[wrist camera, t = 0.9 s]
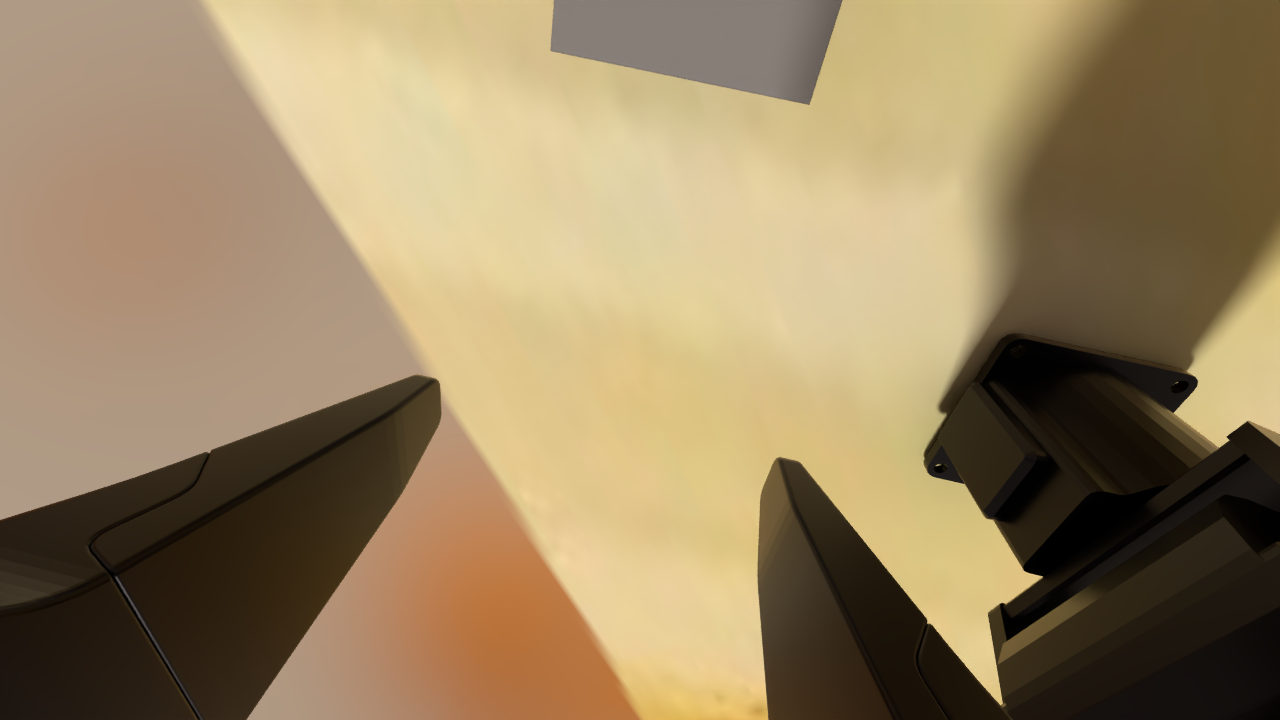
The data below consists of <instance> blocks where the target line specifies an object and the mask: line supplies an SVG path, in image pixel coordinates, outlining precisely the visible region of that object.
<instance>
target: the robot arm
mask: <svg viewBox="0 0 1280 720" xmlns="http://www.w3.org/2000/svg"><path fill="white" fill-rule="evenodd" d="M1018 345H1021V346H1020V348H1019V349H1018V350H1017V351H1015V352H1010V351H1011V349H1012V348H1013V347H1015V346H1018ZM1176 382H1178V383H1176ZM1174 383H1176V384H1175V385H1173V384H1174ZM1197 384H1198V380H1197V379H1196V377H1194V376H1193V375H1191V374H1190V373H1188V372H1187V371H1185V370H1183V369H1180V368H1175V367H1171V366H1166V365H1162V364H1157V363H1152V362H1148V361H1143V360H1139V359H1134V358H1130V357H1125V356H1120V355H1116V354H1111V353H1107V352H1102V351H1097V350H1093V349H1088V348H1084V347H1079V346H1075V345H1070V344H1065V343H1061V342H1056V341H1052V340H1047V339H1042V338H1038V337H1033V336H1029V335H1024V334H1015V333H1014V334H1011V335H1007V336H1006V337H1004V338H1002V339H1001V341H1000V342H999V343H998V344H997V346H996V347H995V349H994V351H993V352H992V354H991V355H990V357H989V358H988V360H987V362H986V363H985V365H984V366H983V368H982V369H981V371H980V373H979V374H978V376H977V377H976V379H975V380H974V382H973V384H972V385H970V386H969V387H968V388H967V390H966V392H965V393H964V395H963V396H962V398H961V399H960V401H959V403H958V404H957V406H956V407H955V409H954V411H953V412H952V414H951V415H950V417H949V418H948V420H947V422H946V423H945V425H944V426H943V428H942V429H941V431H940V433H939V434H938V439H937V440H936V442H935V443H934V445H933V447H932V448H931V450H930V451H929V453H928V454H927V456H926V458H925V460H924V466H925V468H926V470H927V472H928V473H929V474H930V475H931V476H933V477H936V478H941V479H945V480H949V481H954V482H958V483H963V484H965V485H966V487H967V488H968V490H969V492H970V494H971V495H972V497H973V499H974V500H975V502H976V504H977V505H978V507H979V509H980V510H981V512H982V514H983V515H984V517H985V518H986V519H991V520H994V522H995V524H996V525H997V527H998V529H999V530H1000V532H1001V534H1002V535H1003V537H1004V538H1005V540H1006V542H1007V543H1008V545H1009V547H1010V548H1011V550H1012V552H1013V553H1014V555H1015V557H1016V558H1017V560H1018V561H1019V563H1020V565H1021V566H1022V568H1023V570H1024V571H1025V572H1028V573H1031V574H1035V575H1039V576H1043V577H1042V578H1041V579H1040V580H1038V581H1037V582H1035V583H1034V584H1033V585H1031V586H1030V587H1029V588H1027V589H1026V590H1024V591H1023V592H1022V593H1020V594H1019V595H1018V596H1016V597H1015V598H1014V599H1012V600H1011V601H1009V602H1008V603H1007V604H1004V603H1001V604H999V605H998V606H996V607H995V608H994V609H992V610H991V611H990V612H988V617H989V623H990V629H991V635H992V641H993V647H994V653H995V659H996V665H997V671H998V677H999V683H1000V688H1001V694H1002V700H1003V704H1002V705H1001V706H1000V705H999V703H998V702H997V701H996V700H995V699H994V698H993V697H992V696H991V694H990V693H989V692H988V691H987V690H986V689H985V688H984V687H983V686H982V684H981V683H980V682H979V681H978V680H977V679H976V678H975V676H974V675H973V674H972V673H971V672H970V670H969V669H968V668H967V667H966V666H965V664H964V663H963V662H962V661H961V660H960V659H959V657H958V656H957V655H956V654H955V653H954V651H953V650H952V649H951V648H950V647H949V645H948V644H947V643H946V642H945V640H944V639H943V638H942V637H941V636H940V634H939V633H938V632H937V631H936V629H935V628H934V627H933V626H932V625H931V624H927V619H926V617H925V616H924V615H923V614H922V612H921V611H920V610H919V609H918V607H917V606H916V605H915V604H914V602H913V601H912V600H911V599H910V597H909V596H908V595H907V594H906V593H905V591H904V590H903V589H902V588H901V586H900V585H899V584H898V583H897V581H896V580H895V579H894V578H893V576H892V575H891V574H890V573H889V572H888V570H887V569H886V568H885V567H884V565H883V564H882V563H881V562H880V560H879V559H878V558H877V557H876V555H875V554H874V553H873V552H872V551H871V549H870V548H869V547H868V546H867V544H866V543H865V542H864V541H863V539H862V538H861V537H860V536H859V535H858V533H857V532H856V531H855V530H854V528H853V527H852V526H851V525H850V523H849V522H848V521H847V520H846V518H845V517H844V516H843V515H842V514H841V512H840V511H839V510H838V509H837V507H836V506H835V505H834V504H833V502H832V501H831V500H830V499H829V497H828V496H827V495H826V494H825V493H824V491H823V490H822V489H821V488H820V486H819V485H818V484H817V483H816V481H815V480H814V479H813V478H812V476H811V475H810V474H809V473H808V472H807V470H806V469H805V468H804V467H803V465H802V464H801V463H800V462H798V461H795V460H791V459H786V458H782V457H779V458H776V460H775V461H774V463H773V465H772V467H771V470H770V472H769V474H768V477H767V479H766V482H765V484H764V486H763V489H762V493H761V499H760V520H759V545H758V594H759V606H760V619H761V631H762V644H763V657H764V669H765V682H766V694H767V707H768V720H1280V434H1278V433H1276V432H1273V431H1271V430H1269V429H1266V428H1264V427H1262V426H1259V425H1257V424H1255V423H1252V422H1250V421H1247V422H1246V423H1244V424H1243V425H1242V426H1240V427H1239V428H1238V429H1236V430H1235V431H1234V432H1232V433H1231V434H1229V435H1228V436H1227V438H1228V439H1229V440H1230V441H1228V442H1227V443H1225V444H1224V445H1223V446H1221V447H1220V448H1219V447H1217V446H1216V445H1215V444H1213V443H1212V442H1211V441H1209V440H1208V439H1207V438H1205V437H1204V436H1203V435H1201V434H1200V433H1199V432H1197V431H1196V430H1195V429H1193V428H1192V427H1191V426H1190V425H1188V424H1187V423H1186V422H1184V421H1183V420H1182V419H1180V418H1179V417H1178V416H1176V415H1175V414H1174V412H1175V411H1176V409H1177V408H1178V407H1179V406H1180V405H1181V404H1182V403H1183V402H1184V401H1185V400H1186V399H1187V398H1188V397H1189V395H1190V394H1191V393H1192V392H1193V391H1194V390H1195V388H1196V387H1197ZM1172 385H1173V386H1172ZM440 419H441V392H440V383H439V381H438V380H437V379H435V378H431V377H427V376H423V375H413V376H411V377H408V378H405V379H402V380H400V381H397V382H394V383H392V384H389V385H386V386H384V387H381V388H378V389H375V390H373V391H370V392H367V393H365V394H362V395H359V396H357V397H354V398H351V399H348V400H346V401H343V402H340V403H338V404H335V405H332V406H329V407H327V408H324V409H321V410H319V411H316V412H313V413H311V414H308V415H305V416H302V417H300V418H297V419H294V420H291V421H289V422H286V423H283V424H281V425H278V426H275V427H272V428H270V429H267V430H264V431H262V432H259V433H256V434H253V435H251V436H248V437H245V438H243V439H240V440H237V441H235V442H232V443H229V444H226V445H224V446H221V447H218V448H215V449H213V450H211V452H210V453H208V452H204V453H202V454H199V455H196V456H194V457H191V458H188V459H185V460H183V461H180V462H177V463H175V464H172V465H169V466H166V467H163V468H160V469H158V470H155V471H152V472H149V473H146V474H143V475H140V476H138V477H135V478H132V479H129V480H126V481H123V482H119V483H116V484H113V485H111V486H108V487H104V488H101V489H98V490H95V491H92V492H88V493H85V494H82V495H79V496H76V497H73V498H69V499H66V500H63V501H60V502H56V503H53V504H50V505H47V506H44V507H41V508H37V509H34V510H31V511H28V512H24V513H21V514H18V515H15V516H12V517H9V518H5V519H2V520H0V720H247V718H248V717H249V715H250V714H251V712H252V711H253V709H254V708H255V707H256V705H257V703H258V702H259V701H260V699H261V698H262V696H263V695H264V693H265V692H266V690H267V689H268V687H269V686H270V685H271V683H272V682H273V680H274V679H275V677H276V676H277V675H278V673H279V672H280V670H281V669H282V667H283V666H284V664H285V663H286V662H287V660H288V658H289V657H290V656H291V654H292V653H293V651H294V650H295V648H296V647H297V645H298V644H299V643H300V641H301V640H302V638H303V637H304V635H305V634H306V632H307V631H308V629H309V628H310V626H311V625H312V624H313V622H314V621H315V619H316V618H317V616H318V615H319V614H320V612H321V611H322V609H323V607H324V606H325V605H326V603H327V602H328V600H329V599H330V597H331V596H332V594H333V593H334V592H335V590H336V589H337V587H338V586H339V584H340V583H341V582H342V580H343V579H344V577H345V576H346V574H347V573H348V571H349V570H350V569H351V567H352V566H353V564H354V563H355V561H356V560H357V558H358V557H359V555H360V554H361V552H362V551H363V549H364V548H365V547H366V545H367V544H368V542H369V541H370V539H371V538H372V537H373V535H374V534H375V532H376V531H377V529H378V528H379V526H380V525H381V523H382V522H383V521H384V519H385V518H386V516H387V515H388V513H389V512H390V510H391V509H392V507H393V506H394V505H395V503H396V501H397V500H398V498H399V497H400V495H401V494H402V492H403V490H404V489H405V487H406V485H407V484H408V482H409V480H410V478H411V476H412V474H413V473H414V470H415V469H416V467H417V465H418V463H419V461H420V459H421V457H422V456H423V453H424V452H425V450H426V448H427V446H428V444H429V442H430V441H431V439H432V437H433V435H434V433H435V431H436V429H437V427H438V425H439V423H440ZM940 463H943V464H942V465H940V466H936V465H937V464H940Z"/></svg>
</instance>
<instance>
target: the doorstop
mask: <svg viewBox="0 0 1280 720" xmlns="http://www.w3.org/2000/svg"><path fill="white" fill-rule="evenodd" d="M841 3H842V0H554V9H553V24H552V38H551V51H553V52H558V53H562V54H567V55H572V56H577V57H582V58H586V59H591V60H596V61H601V62H606V63H611V64H615V65H620V66H625V67H630V68H635V69H639V70H644V71H649V72H654V73H659V74H663V75H668V76H673V77H678V78H683V79H687V80H692V81H697V82H702V83H707V84H711V85H716V86H721V87H726V88H731V89H736V90H740V91H745V92H750V93H755V94H760V95H764V96H769V97H774V98H779V99H784V100H788V101H793V102H798V103H803V104H808V105H809V104H810V101H811V98H812V95H813V92H814V88H815V85H816V82H817V79H818V76H819V73H820V69H821V66H822V63H823V60H824V57H825V54H826V50H827V47H828V44H829V41H830V38H831V35H832V31H833V28H834V25H835V22H836V19H837V16H838V12H839V9H840V6H841Z"/></svg>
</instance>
